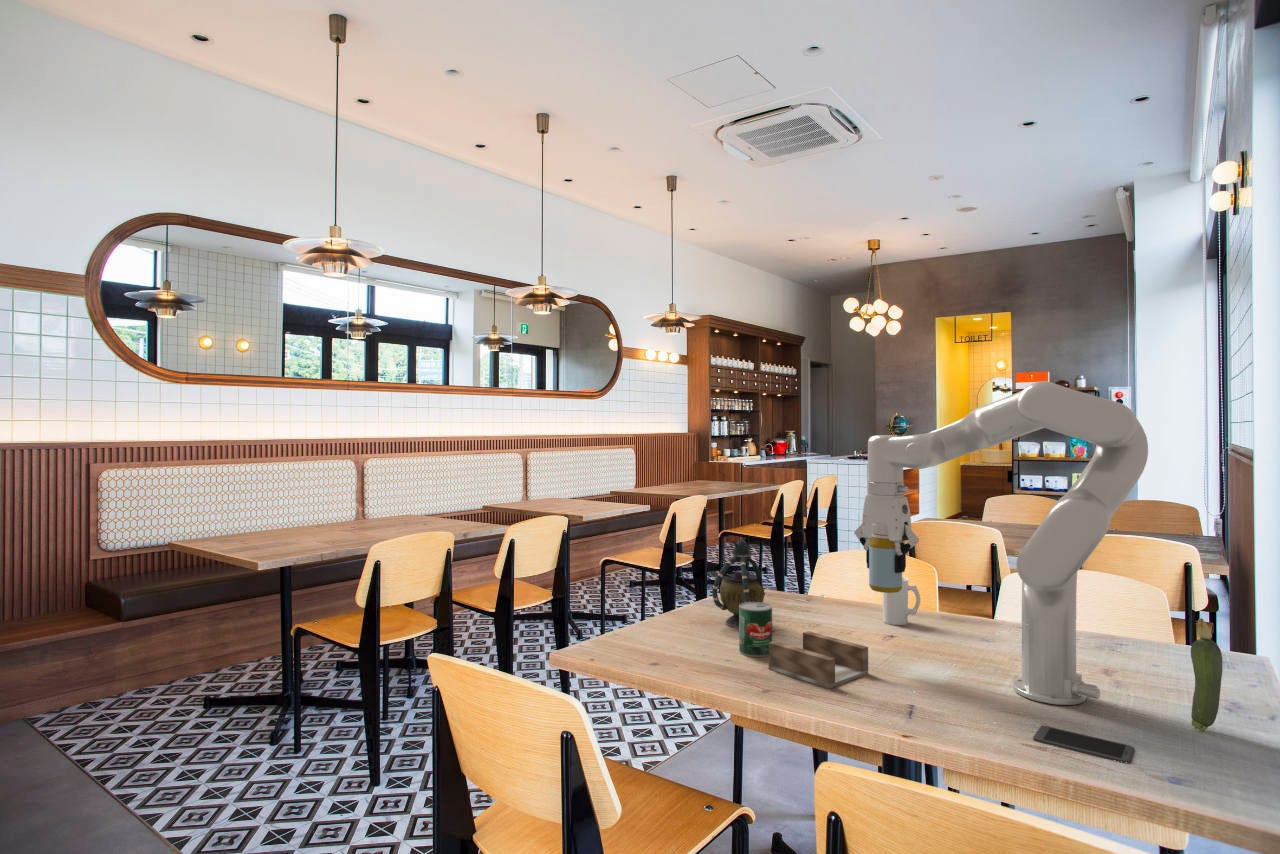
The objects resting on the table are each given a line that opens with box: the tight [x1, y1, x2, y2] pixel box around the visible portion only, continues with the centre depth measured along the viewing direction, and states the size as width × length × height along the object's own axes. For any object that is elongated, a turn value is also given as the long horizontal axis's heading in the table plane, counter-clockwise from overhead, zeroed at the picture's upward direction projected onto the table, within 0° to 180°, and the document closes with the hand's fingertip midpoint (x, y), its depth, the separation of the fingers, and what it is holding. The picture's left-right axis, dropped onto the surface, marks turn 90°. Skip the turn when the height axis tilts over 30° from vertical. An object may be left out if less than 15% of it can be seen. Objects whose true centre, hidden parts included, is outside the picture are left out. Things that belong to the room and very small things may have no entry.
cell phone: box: [1032, 725, 1135, 764], centre depth 121 cm, size 7×14×1 cm, turn 50°
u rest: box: [768, 630, 869, 689], centre depth 158 cm, size 16×14×6 cm
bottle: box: [868, 523, 903, 593], centre depth 162 cm, size 7×7×15 cm
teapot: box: [711, 538, 766, 629], centre depth 200 cm, size 12×25×23 cm, turn 151°
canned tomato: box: [738, 602, 773, 658], centre depth 172 cm, size 8×8×11 cm
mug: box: [881, 576, 921, 626], centre depth 196 cm, size 10×7×12 cm, turn 52°
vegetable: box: [1190, 617, 1223, 732], centre depth 126 cm, size 4×4×20 cm
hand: (885, 569), depth 162 cm, fingers closed on bottle, 6 cm apart
